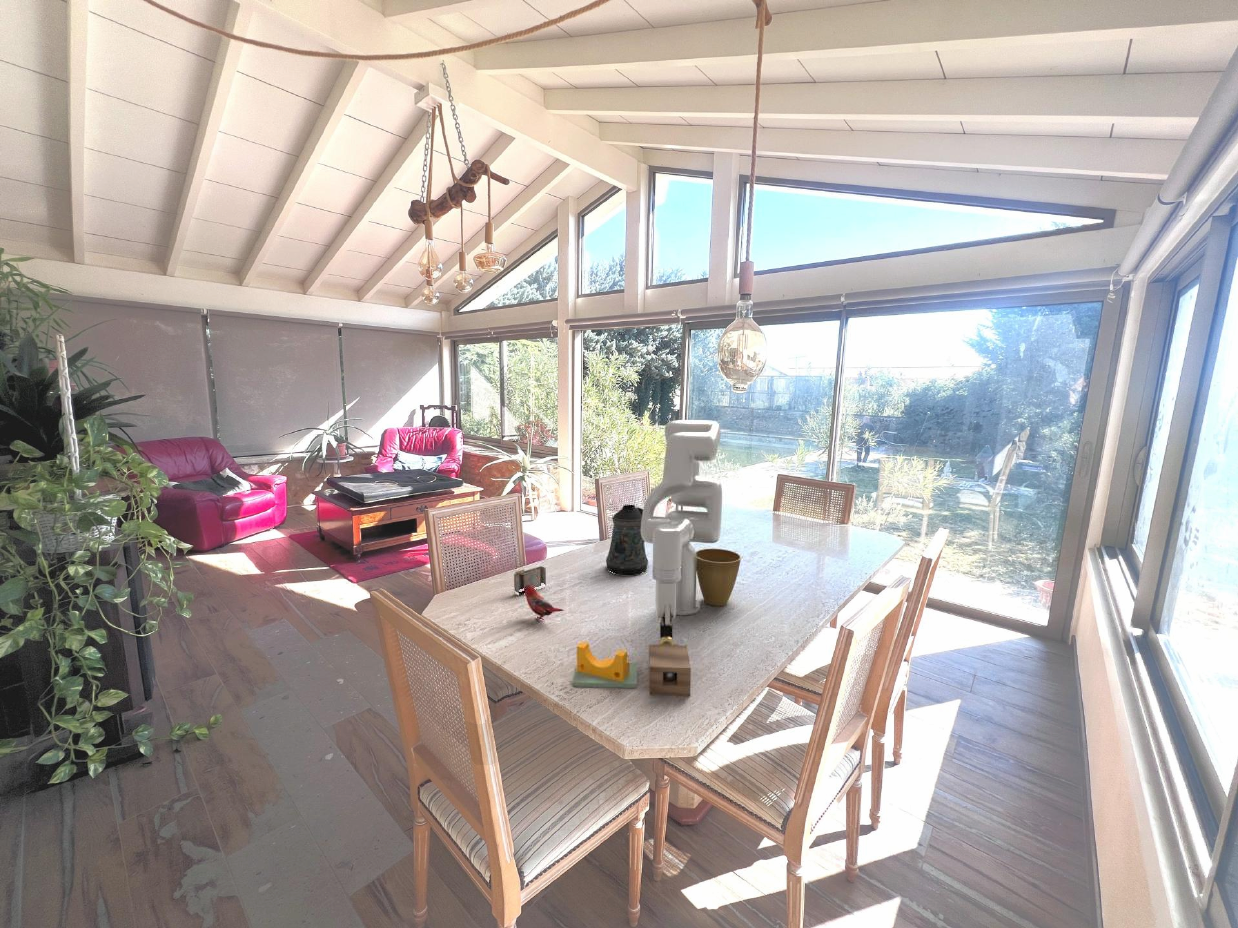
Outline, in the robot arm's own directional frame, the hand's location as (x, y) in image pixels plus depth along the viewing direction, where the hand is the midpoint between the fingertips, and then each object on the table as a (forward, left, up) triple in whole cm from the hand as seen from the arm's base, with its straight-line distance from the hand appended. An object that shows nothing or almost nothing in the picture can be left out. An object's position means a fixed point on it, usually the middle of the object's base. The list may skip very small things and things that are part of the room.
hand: (666, 637), depth 131 cm
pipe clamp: (+13, -16, -3) cm, 21 cm away
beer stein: (-63, -12, -4) cm, 64 cm away
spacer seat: (+13, -15, -3) cm, 20 cm away
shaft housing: (+15, 0, -3) cm, 16 cm away
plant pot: (-32, +18, -4) cm, 36 cm away
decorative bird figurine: (-15, -36, -4) cm, 39 cm away
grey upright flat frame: (-38, -45, -4) cm, 59 cm away
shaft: (+12, 0, -1) cm, 12 cm away
